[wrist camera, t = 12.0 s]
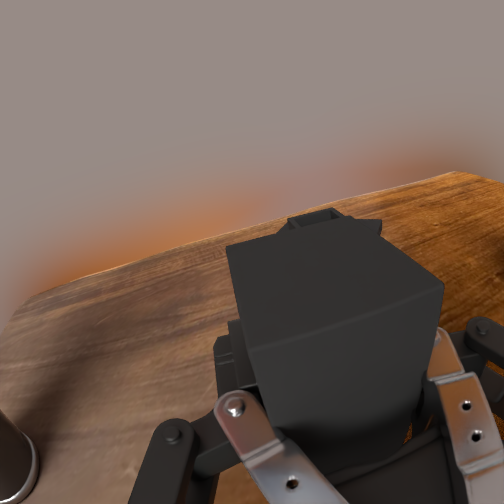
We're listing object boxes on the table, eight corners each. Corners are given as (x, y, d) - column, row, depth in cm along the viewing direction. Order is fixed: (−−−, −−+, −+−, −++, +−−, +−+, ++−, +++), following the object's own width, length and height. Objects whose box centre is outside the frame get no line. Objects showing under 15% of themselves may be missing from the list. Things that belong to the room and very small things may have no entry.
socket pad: (367, 274, 35) (365, 244, 33) (254, 265, 44) (247, 240, 42) (382, 228, 45) (380, 204, 44) (292, 226, 54) (288, 205, 52)
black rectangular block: (393, 467, 10) (446, 283, 6) (297, 502, 10) (247, 350, 5) (354, 392, 15) (349, 214, 10) (273, 417, 14) (224, 245, 10)
